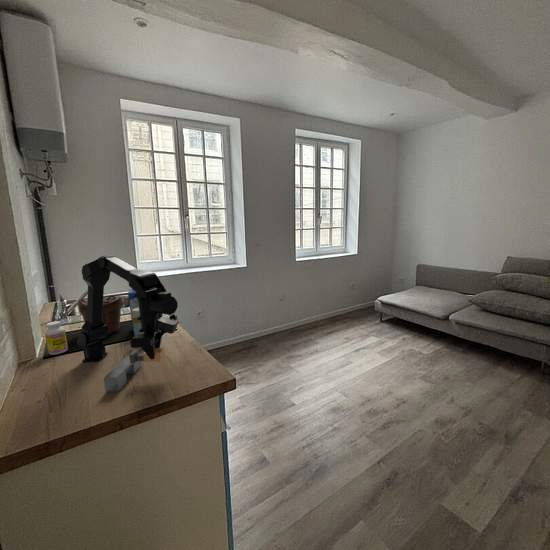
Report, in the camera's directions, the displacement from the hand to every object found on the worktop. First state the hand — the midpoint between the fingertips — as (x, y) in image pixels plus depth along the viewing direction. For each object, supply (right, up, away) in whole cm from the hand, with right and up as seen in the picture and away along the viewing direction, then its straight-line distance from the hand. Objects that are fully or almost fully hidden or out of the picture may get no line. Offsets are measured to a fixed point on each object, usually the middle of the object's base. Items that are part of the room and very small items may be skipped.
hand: (155, 356), depth 95 cm
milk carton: (-27, 0, +47) cm, 54 cm away
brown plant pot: (-45, -1, +48) cm, 66 cm away
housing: (-11, -8, +1) cm, 13 cm away
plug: (-2, -1, 0) cm, 3 cm away
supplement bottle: (-51, -6, +25) cm, 57 cm away
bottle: (-18, -3, +33) cm, 38 cm away
